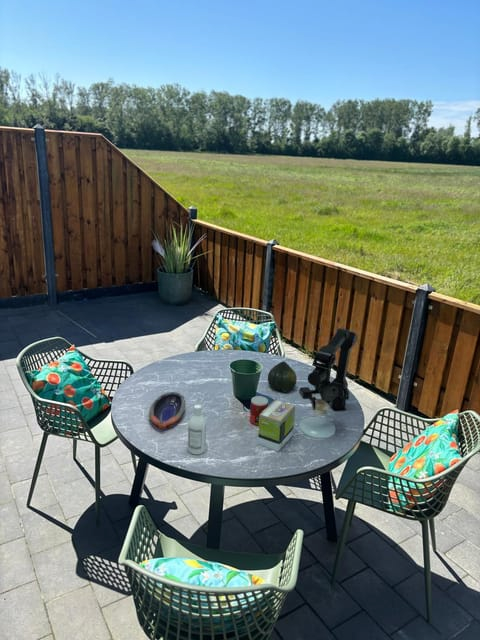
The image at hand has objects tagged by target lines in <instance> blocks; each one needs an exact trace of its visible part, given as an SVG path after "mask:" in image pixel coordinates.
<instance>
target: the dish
mask: <svg viewBox="0 0 480 640" xmlns="http://www.w3.org/2000/svg"><path fill="white" fill-rule="evenodd" d="M185 409H186V399H185V396H184V395H182V394H181V393H179V392H177V391H169V392H166V393H163V394H161V395H159V396H158V397H157V398H156V399H154V401H153V402H152V404H151V405H150V407H149V410H148V414H149V415H148V417H149V419H150V421H151V422H152V424H154V426H156V427H157V428H159V429H163V430H167V429H168V430H169V429H170V428H171V427H173V426H175V425H176V424H177V423H179V421H180V420H181V419H182V417H183V414H184V413H185Z"/></svg>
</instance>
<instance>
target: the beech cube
mask: <svg viewBox="0 0 480 640" xmlns="http://www.w3.org/2000/svg"><path fill="white" fill-rule="evenodd" d="M328 408H329V405H328V403H327V402H326V401H323V400H322V398H321V397H320V398H316V401H315V410H313V408H312V407H311V410H312V411H313V413H314V415H327V413H328Z"/></svg>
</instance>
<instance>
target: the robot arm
mask: <svg viewBox="0 0 480 640" xmlns="http://www.w3.org/2000/svg"><path fill="white" fill-rule="evenodd" d="M356 332H357V331H356ZM356 332H355V331H350V330H348V329H345V328H343V327H342V328H341V327H340V328H337V329H336V332H335V334H334V335H333V337H332V338H331V339H330V340H329V342H328V343H327V344H326V345H323V346H321V347H320V348H319V349H318V350H317V352H316V354H315V356H314V359H313V362H312V365H311V366H312V367H314V369H313V370H312V372H310V373H309V374H308V376H307V381H308V383H309V384H310V385H311V386H313V387H314V389H310V388H309V386H307V387H303V386H302V387H300V388H299V389H298V391H299V392H298V394H299V395H300V397H301V398H302V399H303V400H310V404H311V409H312V408H313V410H315V401H316V399H317V398H316V395H320V396H319V397H320V398H322V400H323V401H326V402H327V403H328V406H329V407H330V408H331V409H332V411H333V412H339V411H341V412H342V411H346V410H347V408H346V402H347V401H348V400H349V399H350V390H349V388H348V387H349V384H348V381H347V372H348V367H349V361H350V356H351V350H352V349H353V348H354V347H355V346H356V343H357V342H358V339H359V337H358V334H357V333H356ZM338 350H339V356H338V362H337V367H336V368H337V369H336V372H335V377H334V379H332V380H331V373H332V372H331V371H332V369H333V367H334V365H335V363H336V360H337V358H336V355H337V354H336V353H337V352H338ZM330 380H331V381H330ZM313 410H312V411H313Z"/></svg>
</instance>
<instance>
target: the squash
mask: <svg viewBox="0 0 480 640" xmlns="http://www.w3.org/2000/svg"><path fill="white" fill-rule="evenodd" d="M297 378H298V377H297V374H296V372H295V371H294V369H293V367H291V366H290V365H289V364H288V363H287V362H286V361H281V362H279V363H277V364H276V365H274V366H273V367H272V368H271V369H270V370H269V371H268V374H267V382H268V384H269V386H270V388H272V389H274V390H278V391H280V390H281V392H283V393H287V392H288V391H292V390H293V389H294V388H295V386H296V384H297Z"/></svg>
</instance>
